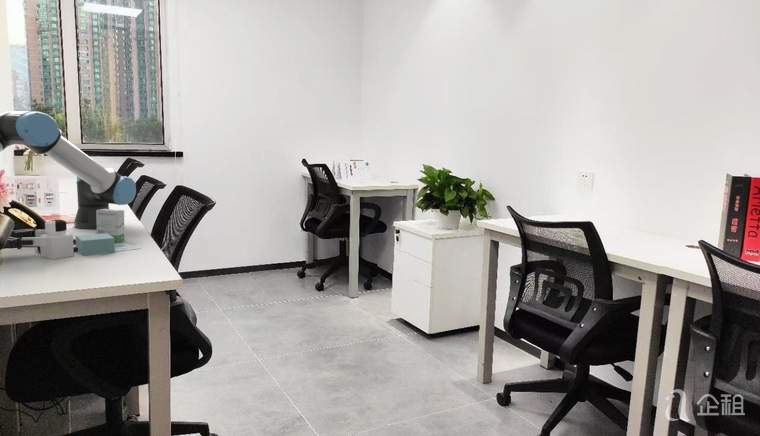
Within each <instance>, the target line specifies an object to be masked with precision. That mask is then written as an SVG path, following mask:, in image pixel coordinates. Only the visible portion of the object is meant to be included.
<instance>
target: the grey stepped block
mask: <svg viewBox="0 0 760 436" xmlns="http://www.w3.org/2000/svg"><path fill="white" fill-rule="evenodd" d="M44 230H45V233H46V234H45V235H40V237H46V246H39V249H40V250H39V251H40V257H41V258H46V259H50V260H58V259H59V260H60V259H65V258H70V257H73V256H74V255H75V251H74V235H73V234H69V233H67V232H68V231H67V230H68V229H67V222H66V220H63V219H49V220H47V221H45V222H44Z"/></svg>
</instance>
